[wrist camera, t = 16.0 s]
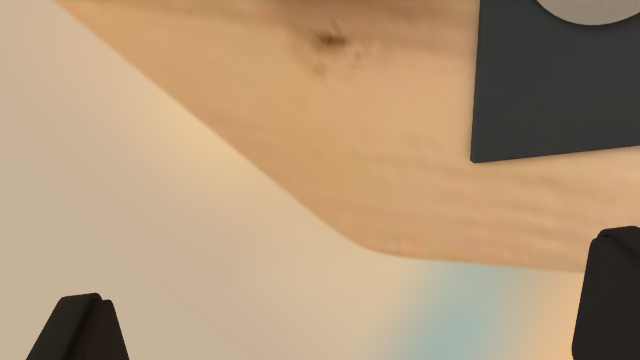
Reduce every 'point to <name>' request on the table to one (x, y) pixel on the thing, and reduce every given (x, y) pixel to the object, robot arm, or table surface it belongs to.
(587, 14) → the black rod on disc
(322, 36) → the table surface
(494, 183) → the table surface
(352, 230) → the table surface
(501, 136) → the mat
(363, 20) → the table surface
